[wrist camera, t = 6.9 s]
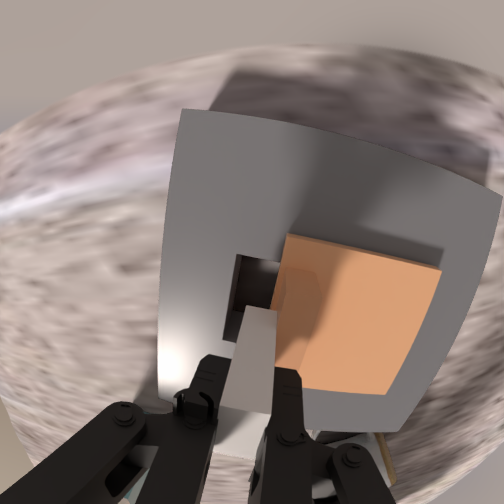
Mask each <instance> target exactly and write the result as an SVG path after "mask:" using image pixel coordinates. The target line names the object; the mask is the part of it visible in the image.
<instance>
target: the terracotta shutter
mask: <svg viewBox="0 0 504 504" xmlns="http://www.w3.org/2000/svg"><path fill="white" fill-rule="evenodd" d="M441 273H442V271H441V270H440V269H439V268H437V267H436V266H432V265H428V264H424V263H420V262H416V261H411V260H407V259H403V258H399V257H395V256H390V255H386V254H382V253H377V252H373V251H369V250H364V249H360V248H355V247H351V246H346V245H342V244H337V243H332V242H328V241H323V240H319V239H314V238H309V237H304V236H300V235H295V234H290V233H287V235H286V239H285V244H284V248H283V253H282V258H281V262H280V267H279V271H278V275H277V280H276V284H275V289H274V293H273V297H272V301H271V306H270V310H274V311H277V329H276V348H275V365H274V366H276V367H282V368H289V369H295V370H297V372H298V373H299V375H300V377H301V378H302V387H303V388H310V389H318V390H327V391H337V392H348V393H361V394H379V395H385V394H386V393H387V391H388V389H389V388H390V386H391V384H392V382H393V381H394V379H395V377H396V375H397V373H398V371H399V370H400V368H401V366H402V364H403V362H404V360H405V358H406V356H407V354H408V352H409V350H410V348H411V346H412V344H413V342H414V340H415V338H416V335H417V333H418V331H419V329H420V327H421V324H422V322H423V320H424V317H425V315H426V313H427V310H428V308H429V305H430V303H431V300H432V298H433V295H434V293H435V290H436V287H437V284H438V282H439V279H440V276H441Z"/></svg>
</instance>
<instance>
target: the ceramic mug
mask: <svg viewBox="0 0 504 504" xmlns="http://www.w3.org/2000/svg"><path fill="white" fill-rule="evenodd" d="M320 432H321V430H313V432H312V435H311V438H312V439H313V440H316V438H317V436H318V434H319V433H320ZM344 443H356V444H359V445H361V446H363V447H365V448H366V449H367V450H368V451H369V452H370V454H371V455H372V457H373V459H374V461H375V463H376V465H377V467H378V469H379V471H380V473H381V475H382V477H383V479H384V481H385V483H386V485H387V487H388V488H389V487H391V486H392V485H394V484H395V483H396V481H397V476H396V473H395V470H394V466H393V463H392V459H391V456H390V453H389V450H388V447H387V443H386V441H385V438H384V435H383V433H382V432H366V433H362V434H359V435H357V436H354V437H351V438H348V439H345V440H341V441H337V442H334V443H330V444H326V446H329V447H333V448H337V447H338V446H339V445H341V444H344Z"/></svg>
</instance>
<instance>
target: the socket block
mask: <svg viewBox="0 0 504 504" xmlns="http://www.w3.org/2000/svg"><path fill="white" fill-rule="evenodd" d="M502 198H503V196H501V195H499V194H498V193H496V192H494V191H492V190H490V189H488V188H486V187H484V186H482V185H479V184H477V183H475V182H473V181H471V180H469V179H467V178H464V177H462V176H460V175H458V174H455V173H453V172H451V171H448V170H446V169H444V168H441V167H439V166H436V165H434V164H431V163H428V162H426V161H423V160H421V159H418V158H415V157H412V156H410V155H407V154H404V153H401V152H398V151H395V150H392V149H389V148H386V147H383V146H380V145H377V144H373V143H370V142H367V141H363V140H360V139H356V138H353V137H349V136H345V135H341V134H338V133H334V132H330V131H325V130H321V129H317V128H313V127H308V126H303V125H299V124H294V123H289V122H284V121H278V120H273V119H267V118H261V117H254V116H248V115H241V114H233V113H225V112H216V111H207V110H195V109H182V112H181V117H180V122H179V127H178V133H177V138H176V144H175V150H174V156H173V162H172V169H171V176H170V183H169V190H168V198H167V206H166V215H165V224H164V234H163V245H162V257H161V270H160V286H159V308H158V398H159V399H162V400H165V401H168V402H172V403H173V396H174V395H175V394H176V393H177V392H178V391H180V390H182V389H185V388H189V386H190V383H191V381H192V379H193V377H194V374H195V372H196V370H197V367H198V364H199V362H200V360H201V359H202V358H204V357H205V356H206V355H208V354H212V355H216V356H221V357H225V358H230V359H232V357H233V354H234V350H235V346H236V343H237V339H238V335H239V331H240V328H241V324H242V320H243V316H244V313H243V312H238V311H234V310H233V305H234V299H235V294H236V288H237V282H238V276H239V271H240V265H241V260H242V255H245V256H250V257H255V258H260V259H265V260H270V261H275V262H281V258H282V253H283V248H284V244H285V239H286V235H287V233H290V234H295V235H300V236H304V237H309V238H314V239H319V240H323V241H328V242H332V243H337V244H342V245H346V246H351V247H355V248H360V249H364V250H369V251H373V252H377V253H382V254H386V255H390V256H395V257H399V258H403V259H407V260H411V261H416V262H420V263H424V264H428V265H432V266H436V267H437V268H439V269H440V270H441V271H442V273H441V276H440V279H439V282H438V284H437V287H436V290H435V293H434V295H433V298H432V300H431V303H430V305H429V308H428V310H427V313H426V315H425V317H424V320H423V322H422V324H421V327H420V329H419V331H418V333H417V335H416V338H415V340H414V342H413V344H412V346H411V348H410V350H409V352H408V354H407V356H406V358H405V360H404V362H403V364H402V366H401V368H400V370H399V371H398V373H397V375H396V377H395V379H394V381H393V382H392V384H391V386H390V388H389V389H388V391H387V393H386V394H385V395H379V394H361V393H348V392H337V391H327V390H318V389H310V388H303V387H302V391H303V397H302V398H303V410H304V426H305V429H310V430H322V431H338V432H398V431H399V430H400V428H401V427H402V426H403V424H404V423H405V421H406V420H407V419H408V417H409V416H410V414H411V413H412V412H413V410H414V409H415V407H416V406H417V404H418V403H419V401H420V400H421V398H422V397H423V395H424V394H425V392H426V390H427V389H428V387H429V386H430V384H431V382H432V381H433V379H434V377H435V376H436V374H437V372H438V370H439V369H440V367H441V365H442V363H443V362H444V360H445V358H446V356H447V354H448V352H449V350H450V348H451V347H452V345H453V343H454V341H455V339H456V336H457V334H458V332H459V330H460V328H461V326H462V324H463V322H464V319H465V317H466V315H467V312H468V310H469V308H470V305H471V303H472V300H473V298H474V295H475V293H476V290H477V288H478V285H479V282H480V279H481V276H482V274H483V271H484V268H485V265H486V261H487V258H488V255H489V252H490V248H491V245H492V241H493V238H494V234H495V230H496V226H497V222H498V217H499V213H500V208H501V203H502Z"/></svg>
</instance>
